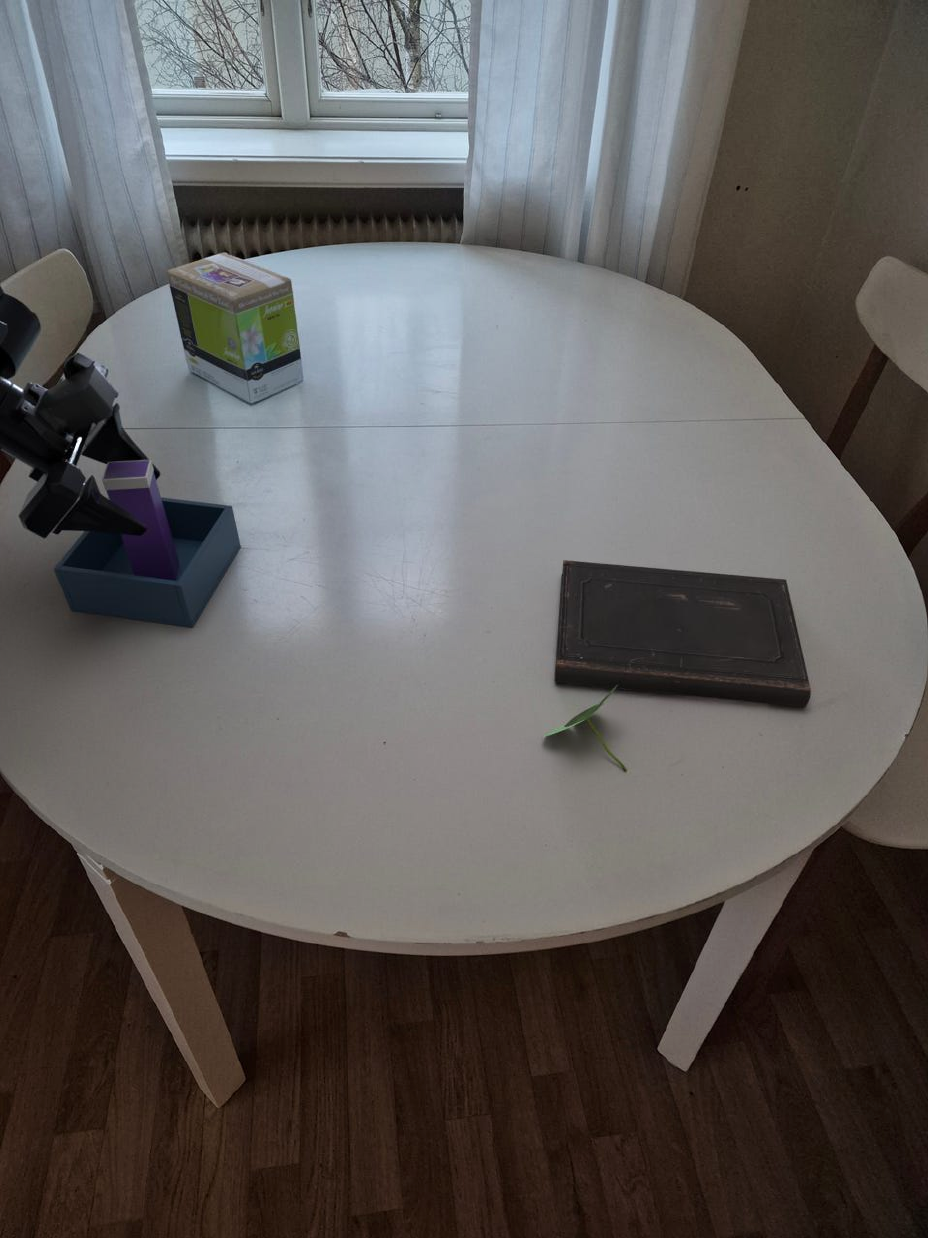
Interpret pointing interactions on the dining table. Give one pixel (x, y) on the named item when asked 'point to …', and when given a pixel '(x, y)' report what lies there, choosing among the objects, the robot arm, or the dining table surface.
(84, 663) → the dining table surface
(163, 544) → the purple white-banded prism
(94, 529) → the robot arm
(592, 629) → the hardcover book
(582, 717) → the seedling
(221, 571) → the open blue box
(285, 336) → the tea box
